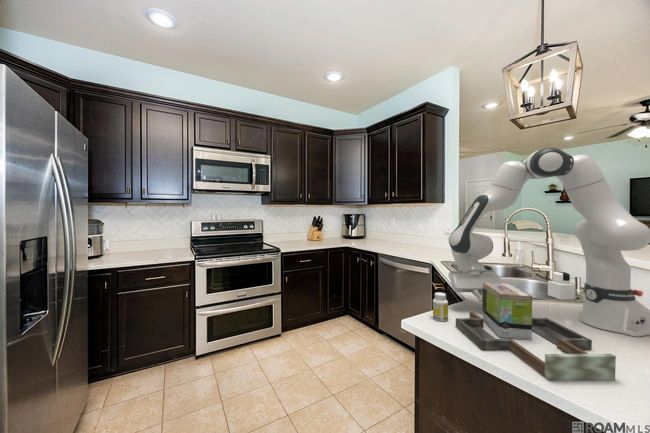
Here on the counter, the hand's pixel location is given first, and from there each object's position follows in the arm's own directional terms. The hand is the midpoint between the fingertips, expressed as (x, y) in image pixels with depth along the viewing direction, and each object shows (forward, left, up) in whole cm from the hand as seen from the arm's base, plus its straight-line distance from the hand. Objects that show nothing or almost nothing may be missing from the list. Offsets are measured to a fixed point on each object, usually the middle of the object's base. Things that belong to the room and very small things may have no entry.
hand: (484, 301), depth 106 cm
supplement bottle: (+19, +3, -6) cm, 20 cm away
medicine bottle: (-49, -21, -6) cm, 54 cm away
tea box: (0, +12, -6) cm, 14 cm away
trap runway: (0, +23, -6) cm, 24 cm away
